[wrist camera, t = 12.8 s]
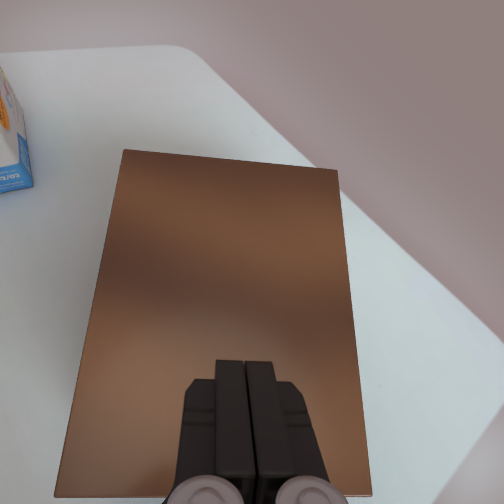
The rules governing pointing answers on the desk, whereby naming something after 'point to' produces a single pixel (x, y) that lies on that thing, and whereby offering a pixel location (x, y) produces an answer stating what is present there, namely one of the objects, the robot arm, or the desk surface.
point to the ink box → (12, 141)
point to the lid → (212, 316)
